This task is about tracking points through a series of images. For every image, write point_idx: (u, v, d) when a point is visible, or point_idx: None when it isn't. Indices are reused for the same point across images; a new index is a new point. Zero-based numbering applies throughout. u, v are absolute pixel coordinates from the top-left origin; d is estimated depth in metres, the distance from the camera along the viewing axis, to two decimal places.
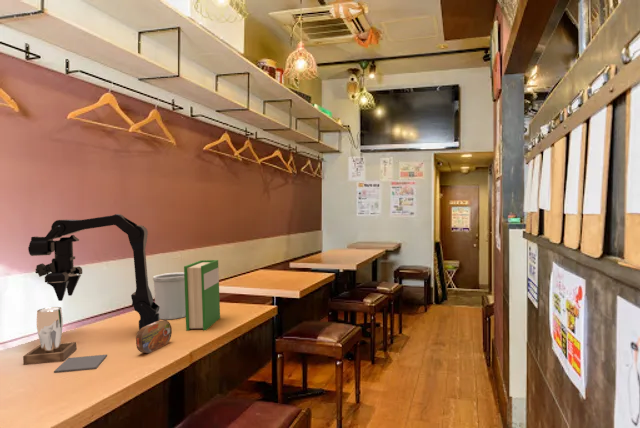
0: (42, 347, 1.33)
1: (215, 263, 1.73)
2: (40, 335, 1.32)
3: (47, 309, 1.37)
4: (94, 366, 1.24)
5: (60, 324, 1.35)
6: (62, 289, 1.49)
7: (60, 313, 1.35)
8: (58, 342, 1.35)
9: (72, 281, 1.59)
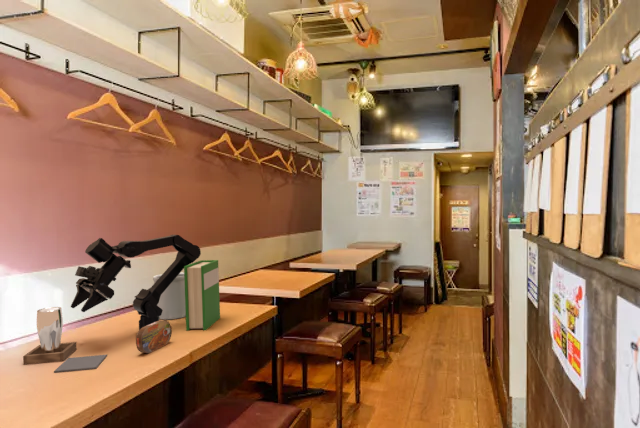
0: (42, 347, 1.33)
1: (215, 263, 1.73)
2: (40, 335, 1.32)
3: (47, 309, 1.37)
4: (94, 366, 1.24)
5: (60, 324, 1.35)
6: (95, 303, 1.40)
7: (60, 313, 1.35)
8: (58, 342, 1.35)
9: (84, 296, 1.48)
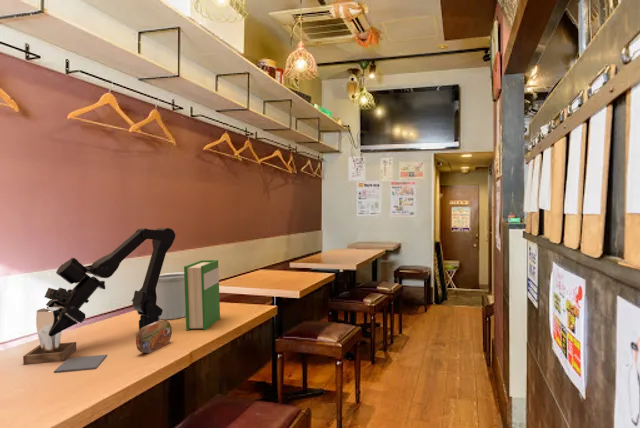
0: (42, 347, 1.33)
1: (215, 263, 1.73)
2: (40, 335, 1.32)
3: (47, 309, 1.37)
4: (94, 366, 1.24)
5: None
6: (64, 327, 1.34)
7: None
8: (58, 342, 1.35)
9: None
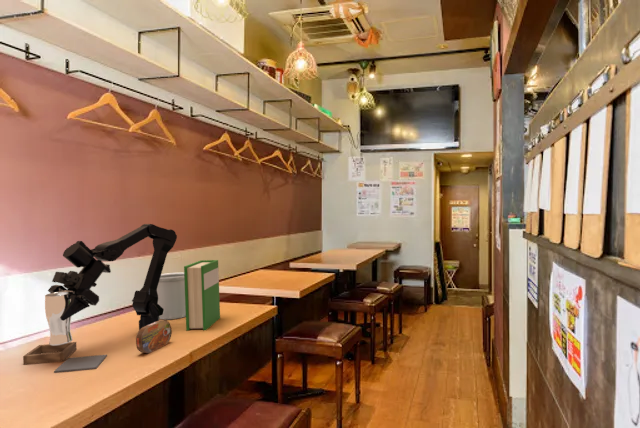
0: (53, 333, 1.29)
1: (215, 263, 1.73)
2: (51, 320, 1.28)
3: (53, 294, 1.33)
4: (94, 366, 1.24)
5: None
6: (76, 310, 1.31)
7: (70, 297, 1.32)
8: (69, 327, 1.32)
9: None
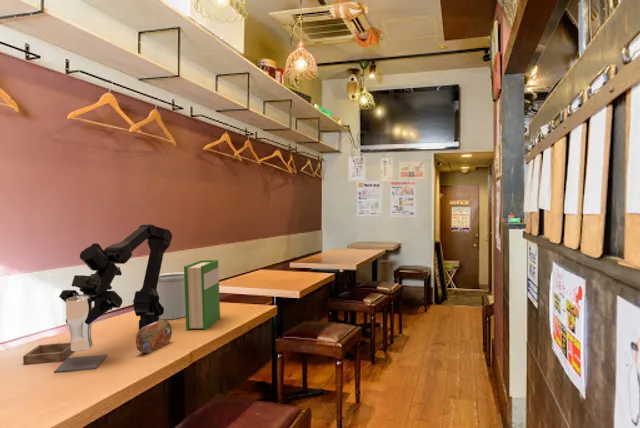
0: (76, 338, 1.26)
1: (215, 263, 1.73)
2: (75, 325, 1.25)
3: (71, 299, 1.29)
4: (94, 366, 1.24)
5: None
6: (100, 313, 1.29)
7: (91, 301, 1.29)
8: (90, 331, 1.29)
9: None
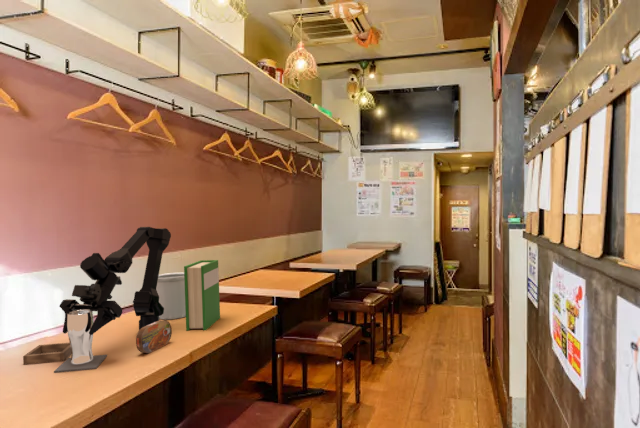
0: (77, 352, 1.26)
1: (215, 263, 1.73)
2: (76, 339, 1.25)
3: (72, 313, 1.29)
4: (94, 366, 1.24)
5: None
6: (103, 323, 1.29)
7: (92, 315, 1.30)
8: (91, 345, 1.29)
9: None
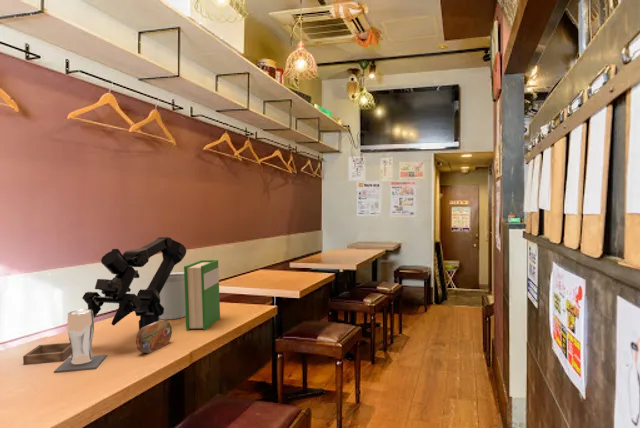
0: (77, 352, 1.26)
1: (215, 263, 1.73)
2: (76, 339, 1.25)
3: (73, 313, 1.29)
4: (94, 366, 1.24)
5: None
6: (124, 315, 1.38)
7: None
8: (91, 345, 1.29)
9: (96, 310, 1.41)
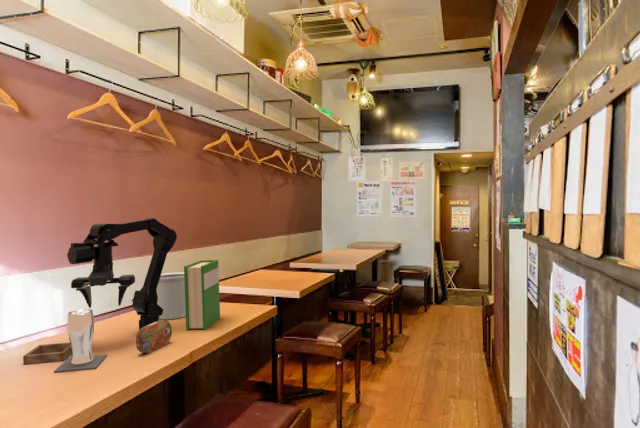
0: (77, 352, 1.26)
1: (215, 263, 1.73)
2: (76, 339, 1.25)
3: (73, 313, 1.29)
4: (94, 366, 1.24)
5: None
6: (124, 292, 1.48)
7: None
8: (91, 345, 1.29)
9: (89, 292, 1.46)
